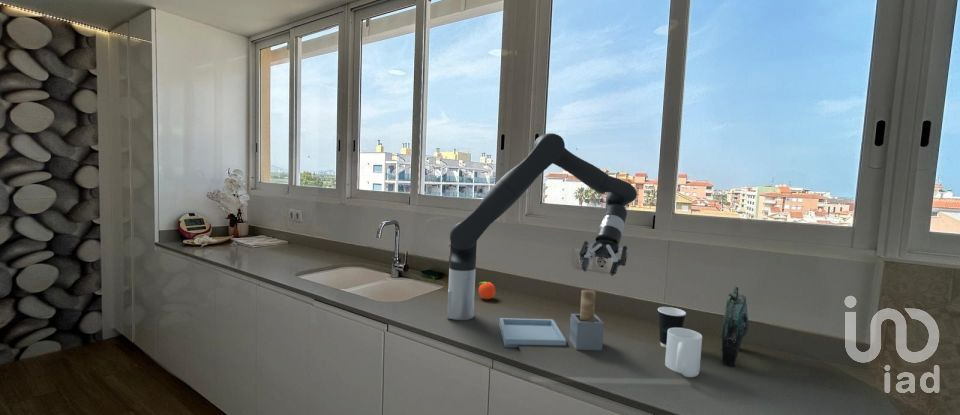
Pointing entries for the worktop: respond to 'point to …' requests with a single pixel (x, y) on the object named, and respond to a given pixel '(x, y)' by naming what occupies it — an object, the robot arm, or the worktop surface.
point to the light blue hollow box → (586, 333)
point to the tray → (530, 332)
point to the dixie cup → (669, 321)
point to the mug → (683, 351)
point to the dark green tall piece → (734, 327)
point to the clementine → (487, 290)
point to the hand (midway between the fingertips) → (597, 272)
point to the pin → (587, 305)
